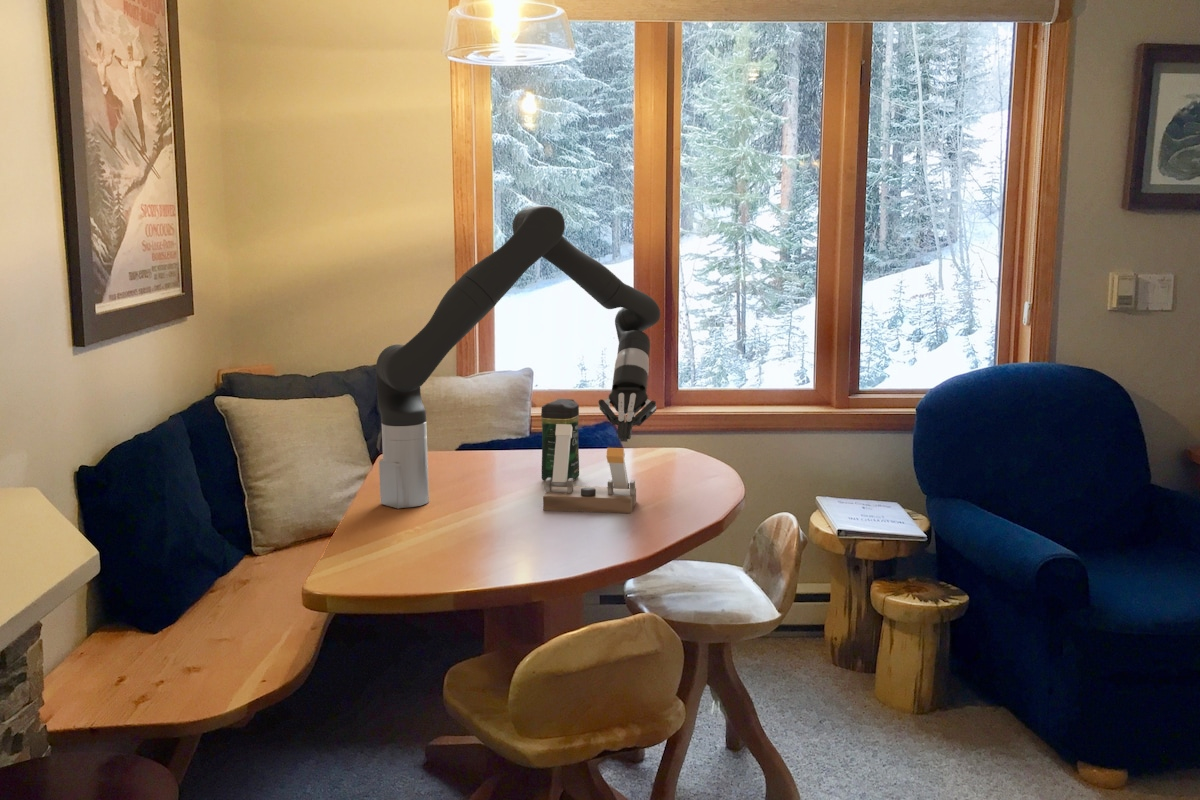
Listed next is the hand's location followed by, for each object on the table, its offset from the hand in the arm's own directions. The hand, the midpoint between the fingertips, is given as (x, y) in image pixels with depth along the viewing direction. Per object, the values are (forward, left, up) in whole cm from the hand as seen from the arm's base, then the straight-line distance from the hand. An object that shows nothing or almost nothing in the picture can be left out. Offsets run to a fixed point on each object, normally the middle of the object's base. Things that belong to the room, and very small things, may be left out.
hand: (623, 439), depth 219 cm
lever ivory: (-12, +8, -9) cm, 16 cm away
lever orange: (-4, -3, -9) cm, 10 cm away
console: (-8, +2, -13) cm, 16 cm away
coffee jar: (+5, +23, -13) cm, 27 cm away
